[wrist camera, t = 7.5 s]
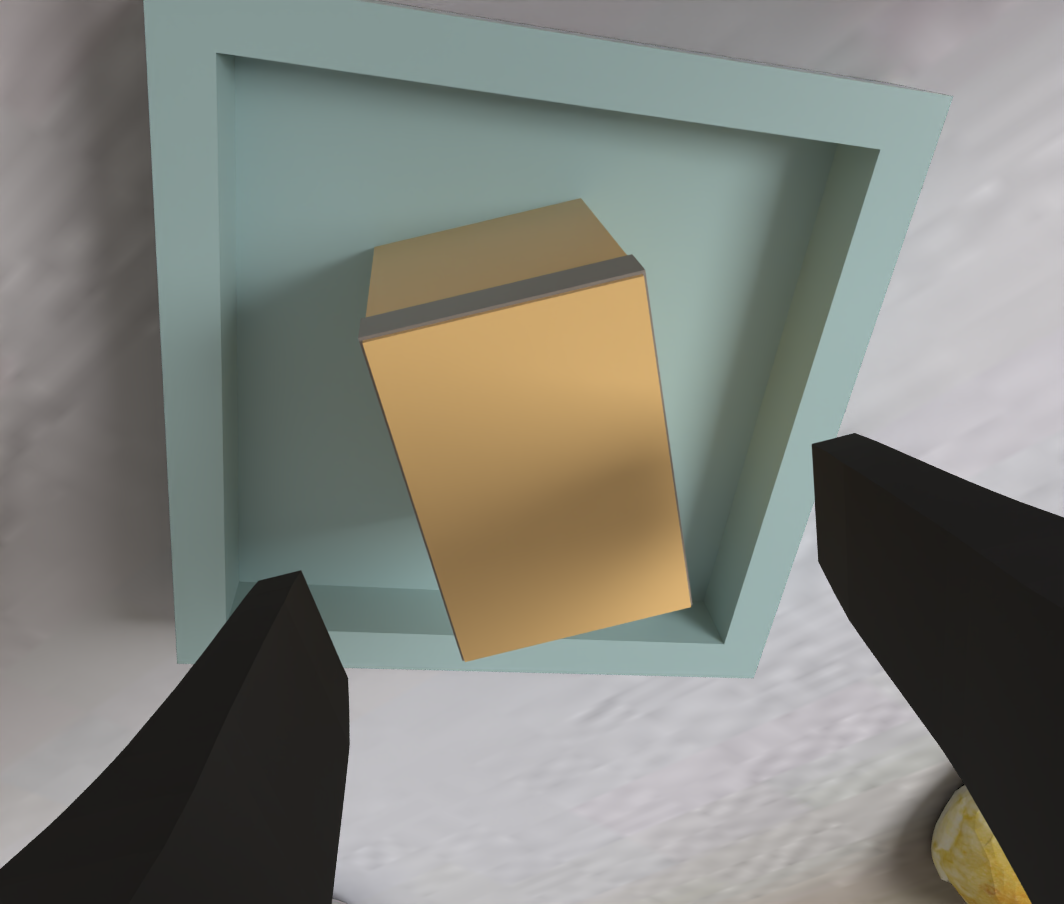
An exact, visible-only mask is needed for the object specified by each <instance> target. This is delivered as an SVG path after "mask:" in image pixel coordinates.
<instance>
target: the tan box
mask: <svg viewBox="0 0 1064 904" xmlns="http://www.w3.org/2000/svg"><path fill="white" fill-rule="evenodd" d="M358 339H359V343H360V346H361V349H362V352H363V355H364V358H365V361H366V364H367V367H368V370H369V374H370V377H371V380H372V383H373V386H374V389H375V392H376V395H377V398H378V401H379V404H380V408H381V411H382V414H383V417H384V420H385V423H386V426H387V429H388V432H389V435H390V439H391V442H392V445H393V448H394V451H395V454H396V457H397V460H398V463H399V466H400V469H401V473H402V476H403V479H404V482H405V485H406V488H407V491H408V494H409V497H410V500H411V504H412V507H413V510H414V513H415V516H416V519H417V522H418V525H419V528H420V531H421V534H422V538H423V541H424V544H425V547H426V550H427V553H428V556H429V559H430V562H431V565H432V569H433V572H434V575H435V578H436V581H437V584H438V587H439V590H440V593H441V596H442V599H443V603H444V606H445V609H446V612H447V615H448V618H449V621H450V624H451V627H452V630H453V634H454V637H455V640H456V643H457V646H458V649H459V652H460V655H461V658H462V661H465V662H468V661H472V660H476V659H480V658H484V657H488V656H492V655H497V654H501V653H505V652H509V651H513V650H517V649H521V648H525V647H529V646H533V645H538V644H542V643H546V642H550V641H554V640H558V639H562V638H566V637H570V636H575V635H579V634H583V633H587V632H591V631H595V630H599V629H603V628H607V627H612V626H616V625H620V624H624V623H628V622H632V621H636V620H640V619H644V618H648V617H653V616H657V615H661V614H665V613H669V612H673V611H677V610H681V609H685V608H690V607H691V605H693V604H692V597H691V590H690V583H689V576H688V569H687V562H686V555H685V548H684V540H683V533H682V526H681V519H680V512H679V505H678V498H677V491H676V484H675V477H674V470H673V463H672V456H671V448H670V441H669V434H668V427H667V420H666V413H665V406H664V399H663V392H662V385H661V378H660V371H659V363H658V356H657V349H656V342H655V335H654V328H653V321H652V314H651V307H650V300H649V293H648V286H647V278H646V271H645V269H644V268H643V266H642V265H641V264H640V263H639V262H638V260H637V259H636V258H635V257H634V256H633V254H631V255H627V254H626V253H625V252H624V251H623V249H622V248H621V247H620V246H619V245H618V243H617V242H616V241H615V240H614V238H613V237H612V236H611V235H610V233H609V232H608V231H607V230H606V228H605V227H604V226H603V225H602V223H601V222H600V221H599V220H598V219H597V217H596V216H595V215H594V214H593V212H592V211H591V210H590V209H589V207H588V206H587V205H586V204H585V202H584V201H583V200H582V199H581V198H579V199H575V200H571V201H567V202H562V203H558V204H554V205H550V206H545V207H541V208H537V209H533V210H529V211H524V212H520V213H516V214H512V215H507V216H503V217H499V218H495V219H491V220H486V221H482V222H478V223H474V224H469V225H465V226H461V227H457V228H452V229H448V230H444V231H440V232H436V233H431V234H427V235H423V236H419V237H414V238H410V239H406V240H402V241H398V242H393V243H389V244H385V245H381V246H376V247H374V254H373V262H372V270H371V278H370V286H369V294H368V302H367V310H366V318H361V321H360V328H359V335H358Z"/></svg>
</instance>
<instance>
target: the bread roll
mask: <svg viewBox="0 0 1064 904" xmlns="http://www.w3.org/2000/svg"><path fill="white" fill-rule="evenodd" d="M931 853H932V859H933V862H934V864H935V867H936V869H937V871H938V874H939V876H940V878H941V879H942V880H944V881H947V882H949V883H951V884H952V885H953V886H954V887H955V888H956V890H957V891H958V893H959V894H960V895H961V896H962V898H963V899H964V901H965V902H966V903H967V904H1032V903H1031V901H1030V900H1029V898H1028V896H1027V894H1026V892H1025V891H1024V889H1023V887H1022V885H1021V883H1020V881H1019V880H1018V878H1017V876H1016V874H1015V872H1014V870H1013V869H1012V867H1011V865H1010V863H1009V861H1008V860H1007V858H1006V856H1005V854H1004V852H1003V850H1002V849H1001V847H1000V845H999V843H998V842H997V840H996V838H995V836H994V835H993V833H992V831H991V829H990V828H989V826H988V824H987V822H986V821H985V819H984V817H983V816H982V814H981V812H980V810H979V809H978V807H977V805H976V803H975V802H974V800H973V798H972V796H971V795H970V793H969V791H968V790H967V788H966V786H965V785H964V786H962V787H961V788H959V789H958V790H956V791H955V792H954V794H953V795H952V797H951V798H950V800H949V801H948V803H947V805H946V806H945V808H944V810H943V812H942V813H941V815H940V817H939V819H938V821H937V822H936V826H935V829H934V832H933V837H932V844H931Z"/></svg>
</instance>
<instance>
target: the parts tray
mask: <svg viewBox="0 0 1064 904" xmlns="http://www.w3.org/2000/svg"><path fill="white" fill-rule="evenodd" d="M143 2H144V22H145V42H146V61H147V81H148V101H149V120H150V140H151V159H152V179H153V199H154V218H155V238H156V258H157V277H158V297H159V316H160V336H161V356H162V375H163V395H164V415H165V434H166V454H167V473H168V493H169V513H170V532H171V552H172V572H173V591H174V611H175V631H176V650H177V664H195V662H196V661H197V660H198V658H199V657H200V656H201V655H202V653H203V652H204V651H205V649H206V648H207V647H208V645H209V644H210V643H211V641H212V640H213V639H214V637H215V636H216V635H217V633H218V632H219V631H220V629H221V628H222V627H223V625H224V624H225V623H226V621H227V620H228V619H229V617H230V616H231V615H232V613H233V612H234V611H235V609H236V608H237V607H238V605H239V604H240V603H241V601H242V600H243V599H244V598H245V596H246V595H247V594H248V592H249V591H250V590H251V589H252V588H253V586H254V585H255V584H256V583H257V582H258V581H259V580H263V579H267V578H271V577H275V576H279V575H283V574H287V573H292V572H296V571H300V570H301V571H302V573H303V575H304V578H305V580H306V582H307V584H308V587H309V589H310V591H311V594H312V596H313V598H314V601H315V603H316V605H317V608H318V610H319V612H320V615H321V617H322V619H323V622H324V624H325V626H326V628H327V631H328V633H329V635H330V638H331V640H332V642H333V645H334V647H335V649H336V652H337V654H338V656H339V659H340V661H341V663H342V665H343V668H371V669H410V670H449V671H488V672H527V673H566V674H605V675H643V676H682V677H721V678H754V675H755V673H756V670H757V667H758V664H759V661H760V658H761V655H762V652H763V649H764V646H765V643H766V640H767V638H768V635H769V632H770V629H771V626H772V623H773V620H774V617H775V614H776V611H777V608H778V605H779V603H780V600H781V597H782V594H783V591H784V588H785V585H786V582H787V579H788V576H789V573H790V571H791V568H792V565H793V562H794V559H795V556H796V553H797V550H798V547H799V544H800V541H801V538H802V536H803V533H804V530H805V527H806V524H807V521H808V518H809V515H810V512H811V509H812V506H813V503H814V501H815V495H814V478H813V461H812V444H813V443H817V442H821V441H825V440H829V439H833V438H836V436H837V434H838V431H839V428H840V425H841V422H842V419H843V416H844V413H845V410H846V407H847V404H848V402H849V399H850V396H851V393H852V390H853V387H854V384H855V381H856V378H857V375H858V372H859V369H860V367H861V364H862V361H863V358H864V355H865V352H866V349H867V346H868V343H869V340H870V337H871V334H872V332H873V329H874V326H875V323H876V320H877V317H878V314H879V311H880V308H881V305H882V302H883V300H884V297H885V294H886V291H887V288H888V285H889V282H890V279H891V276H892V273H893V270H894V267H895V265H896V262H897V259H898V256H899V253H900V250H901V247H902V244H903V241H904V238H905V235H906V233H907V230H908V227H909V224H910V221H911V218H912V215H913V212H914V209H915V206H916V203H917V200H918V198H919V195H920V192H921V189H922V186H923V183H924V180H925V177H926V174H927V171H928V168H929V165H930V163H931V160H932V157H933V154H934V151H935V148H936V145H937V142H938V139H939V136H940V133H941V131H942V128H943V125H944V122H945V119H946V116H947V113H948V110H949V107H950V104H951V101H952V98H953V96H949V95H945V94H940V93H935V92H930V91H925V90H921V89H916V88H911V87H906V86H901V85H897V84H892V83H886V82H880V81H873V80H867V79H861V78H855V77H849V76H842V75H836V74H830V73H824V72H818V71H811V70H805V69H799V68H793V67H787V66H780V65H774V64H768V63H762V62H756V61H749V60H743V59H737V58H731V57H725V56H718V55H712V54H706V53H700V52H694V51H687V50H681V49H675V48H669V47H663V46H656V45H650V44H644V43H638V42H632V41H625V40H619V39H613V38H607V37H601V36H594V35H588V34H582V33H576V32H570V31H563V30H557V29H551V28H545V27H539V26H532V25H526V24H520V23H514V22H507V21H501V20H495V19H489V18H483V17H476V16H470V15H464V14H458V13H452V12H445V11H439V10H433V9H427V8H421V7H414V6H408V5H402V4H396V3H390V2H383V1H377V0H143ZM579 198H581V199H582V200H583V201H584V202H585V204H586V205H587V206H588V207H589V209H590V210H591V211H592V212H593V214H594V215H595V216H596V217H597V219H598V220H599V221H600V222H601V223H602V225H603V226H604V227H605V228H606V230H607V231H608V232H609V233H610V235H611V236H612V237H613V238H614V240H615V241H616V242H617V243H618V245H619V246H620V247H621V248H622V249H623V251H624V252H625V253H626V254H627V255H631V254H633V256H634V257H635V258H636V259H637V260H638V262H639V263H640V264H641V265H642V266H643V268H644V269H645V271H646V278H647V286H648V293H649V300H650V307H651V314H652V321H653V328H654V335H655V342H656V349H657V356H658V363H659V371H660V378H661V385H662V392H663V399H664V406H665V413H666V420H667V427H668V434H669V441H670V448H671V456H672V463H673V470H674V477H675V484H676V491H677V498H678V505H679V512H680V519H681V526H682V533H683V540H684V548H685V555H686V562H687V569H688V576H689V583H690V590H691V597H692V604H693V605H691V607H690V608H685V609H681V610H677V611H673V612H669V613H665V614H661V615H657V616H653V617H648V618H644V619H640V620H636V621H632V622H628V623H624V624H620V625H616V626H612V627H607V628H603V629H599V630H595V631H591V632H587V633H583V634H579V635H575V636H570V637H566V638H562V639H558V640H554V641H550V642H546V643H542V644H538V645H533V646H529V647H525V648H521V649H517V650H513V651H509V652H505V653H501V654H497V655H492V656H488V657H484V658H480V659H476V660H472V661H468V662H465V661H462V658H461V655H460V652H459V649H458V646H457V643H456V640H455V637H454V634H453V630H452V627H451V624H450V621H449V618H448V615H447V612H446V609H445V606H444V603H443V599H442V596H441V593H440V590H439V587H438V584H437V581H436V578H435V575H434V572H433V569H432V565H431V562H430V559H429V556H428V553H427V550H426V547H425V544H424V541H423V538H422V534H421V531H420V528H419V525H418V522H417V519H416V516H415V513H414V510H413V507H412V504H411V500H410V497H409V494H408V491H407V488H406V485H405V482H404V479H403V476H402V473H401V469H400V466H399V463H398V460H397V457H396V454H395V451H394V448H393V445H392V442H391V439H390V435H389V432H388V429H387V426H386V423H385V420H384V417H383V414H382V411H381V408H380V404H379V401H378V398H377V395H376V392H375V389H374V386H373V383H372V380H371V377H370V374H369V370H368V367H367V364H366V361H365V358H364V355H363V352H362V349H361V346H360V343H359V339H358V335H359V328H360V321H361V318H366V310H367V302H368V294H369V286H370V278H371V270H372V262H373V254H374V247H376V246H381V245H385V244H389V243H393V242H398V241H402V240H406V239H410V238H414V237H419V236H423V235H427V234H431V233H436V232H440V231H444V230H448V229H452V228H457V227H461V226H465V225H469V224H474V223H478V222H482V221H486V220H491V219H495V218H499V217H503V216H507V215H512V214H516V213H520V212H524V211H529V210H533V209H537V208H541V207H545V206H550V205H554V204H558V203H562V202H567V201H571V200H575V199H579Z"/></svg>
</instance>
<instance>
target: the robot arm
mask: <svg viewBox="0 0 1064 904" xmlns="http://www.w3.org/2000/svg"><path fill="white" fill-rule="evenodd" d="M812 461H813V478H814V495H815V512H816V529H817V546H818V562H819V564H820V566H821V568H822V570H823V572H824V574H825V576H826V578H827V579H828V581H829V583H830V585H831V587H832V589H833V591H834V593H835V595H836V597H837V599H838V601H839V602H840V604H841V606H842V608H843V610H844V611H845V613H846V615H847V617H848V619H849V621H850V622H851V623H852V625H853V626H854V628H855V629H856V631H857V632H858V634H859V635H860V636H861V638H862V639H863V641H864V642H865V643H866V645H867V646H868V648H869V649H870V650H871V652H872V653H873V655H874V656H875V657H876V659H877V660H878V662H879V663H880V664H881V666H882V667H883V669H884V670H885V671H886V673H887V674H888V676H889V677H890V678H891V680H892V681H893V682H894V684H895V685H896V687H897V688H898V689H899V691H900V692H901V693H902V695H903V696H904V698H905V699H906V700H907V702H908V703H909V704H910V706H911V707H912V709H913V710H914V711H915V713H916V714H917V716H918V717H919V718H920V720H921V721H922V722H923V724H924V725H925V727H926V728H927V729H928V731H929V732H930V733H931V735H932V736H933V738H934V739H935V740H936V742H937V743H938V745H939V746H940V747H941V749H942V750H943V752H944V753H945V755H946V756H947V758H948V759H949V761H950V762H951V764H952V765H953V767H954V768H955V770H956V771H957V773H958V775H959V776H960V778H961V779H962V781H963V783H964V784H965V786H966V788H967V790H968V791H969V793H970V795H971V796H972V798H973V800H974V802H975V803H976V805H977V807H978V809H979V810H980V812H981V814H982V816H983V817H984V819H985V821H986V822H987V824H988V826H989V828H990V829H991V831H992V833H993V835H994V836H995V838H996V840H997V842H998V843H999V845H1000V847H1001V849H1002V850H1003V852H1004V854H1005V856H1006V858H1007V860H1008V861H1009V863H1010V865H1011V867H1012V869H1013V870H1014V872H1015V874H1016V876H1017V878H1018V880H1019V881H1020V883H1021V885H1022V887H1023V889H1024V891H1025V892H1026V894H1027V896H1028V898H1029V900H1030V901H1031V903H1032V904H1064V517H1061V516H1058V515H1055V514H1052V513H1050V512H1047V511H1044V510H1041V509H1038V508H1036V507H1033V506H1030V505H1027V504H1025V503H1022V502H1019V501H1017V500H1014V499H1011V498H1009V497H1006V496H1004V495H1001V494H999V493H996V492H993V491H991V490H989V489H986V488H984V487H981V486H979V485H976V484H974V483H971V482H969V481H967V480H964V479H962V478H960V477H957V476H955V475H953V474H950V473H948V472H946V471H943V470H941V469H939V468H936V467H934V466H932V465H929V464H927V463H925V462H923V461H920V460H918V459H916V458H914V457H911V456H909V455H907V454H904V453H902V452H900V451H898V450H895V449H893V448H891V447H888V446H886V445H884V444H881V443H879V442H877V441H874V440H872V439H869V438H867V437H864V436H861V435H858V434H856V433H853V434H849V435H845V436H841V437H837V438H833V439H829V440H825V441H821V442H817V443H813V444H812ZM349 745H350V740H349V692H348V677H347V675H346V672H345V670H344V668H343V665H342V663H341V661H340V659H339V656H338V654H337V652H336V649H335V647H334V645H333V642H332V640H331V638H330V635H329V633H328V631H327V628H326V626H325V624H324V622H323V619H322V617H321V615H320V612H319V610H318V608H317V605H316V603H315V601H314V598H313V596H312V594H311V591H310V589H309V587H308V584H307V582H306V580H305V578H304V575H303V573H302V571H301V570H300V571H296V572H292V573H287V574H283V575H279V576H275V577H271V578H267V579H263V580H259V581H258V582H257V583H256V584H255V585H254V586H253V588H252V589H251V590H250V591H249V592H248V594H247V595H246V596H245V598H244V599H243V600H242V601H241V603H240V604H239V605H238V607H237V608H236V609H235V611H234V612H233V613H232V615H231V616H230V617H229V619H228V620H227V621H226V623H225V624H224V625H223V627H222V628H221V629H220V631H219V632H218V633H217V635H216V636H215V637H214V639H213V640H212V641H211V643H210V644H209V645H208V647H207V648H206V649H205V651H204V652H203V653H202V655H201V656H200V657H199V658H198V660H197V661H196V662H195V664H194V665H193V666H192V668H191V669H190V670H189V671H188V673H187V674H186V675H185V677H184V678H183V679H182V681H181V682H180V683H179V684H178V686H177V687H176V688H175V689H174V691H173V692H172V693H171V694H170V695H169V697H168V698H167V699H166V700H165V701H164V702H163V704H162V705H161V706H160V707H159V708H158V710H157V711H156V712H155V713H154V714H153V716H152V717H151V718H150V719H149V720H148V721H147V723H146V724H145V725H144V726H143V727H142V729H141V730H140V731H139V732H138V733H137V735H136V736H135V737H134V738H133V739H132V740H131V742H130V743H129V744H128V745H127V746H126V747H125V749H124V750H123V751H122V752H121V753H120V754H119V755H118V756H117V757H116V758H115V760H114V761H113V762H112V763H111V764H110V765H109V766H108V767H107V768H106V769H105V770H104V771H103V772H102V773H101V774H100V776H99V777H98V778H97V779H96V780H95V781H94V782H93V783H92V784H91V785H90V786H89V787H88V788H87V789H86V790H85V791H84V792H83V793H82V794H81V795H80V796H79V797H78V798H77V799H76V800H75V801H74V802H73V803H72V804H71V805H70V806H69V807H68V808H67V809H66V810H65V811H64V812H63V813H62V814H61V815H60V816H59V817H58V818H57V819H55V820H54V821H53V822H52V823H51V824H50V825H49V826H48V827H47V828H46V829H45V830H44V831H42V832H41V833H40V834H39V835H38V836H37V837H36V838H35V839H33V840H32V841H31V842H30V843H29V844H28V845H27V846H26V847H24V848H23V849H22V850H21V851H20V852H19V853H18V854H17V855H16V856H14V857H13V858H12V859H11V860H10V861H9V862H8V863H7V864H5V865H4V866H3V867H2V868H1V869H0V904H332V896H333V887H334V878H335V870H336V861H337V853H338V844H339V836H340V827H341V819H342V810H343V801H344V792H345V783H346V774H347V765H348V755H349Z"/></svg>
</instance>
